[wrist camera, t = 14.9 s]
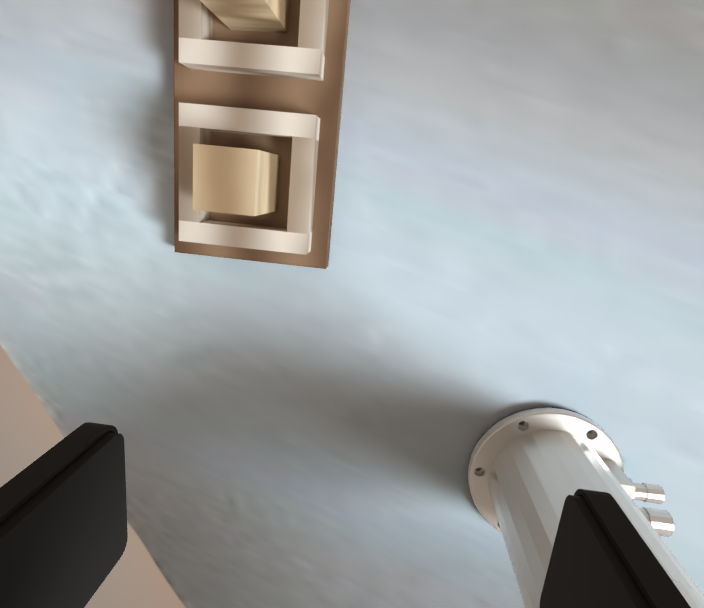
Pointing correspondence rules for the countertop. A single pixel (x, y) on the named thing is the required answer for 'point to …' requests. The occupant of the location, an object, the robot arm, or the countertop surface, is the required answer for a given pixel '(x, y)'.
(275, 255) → the board
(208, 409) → the countertop surface
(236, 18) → the tan wooden block
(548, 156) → the countertop surface
